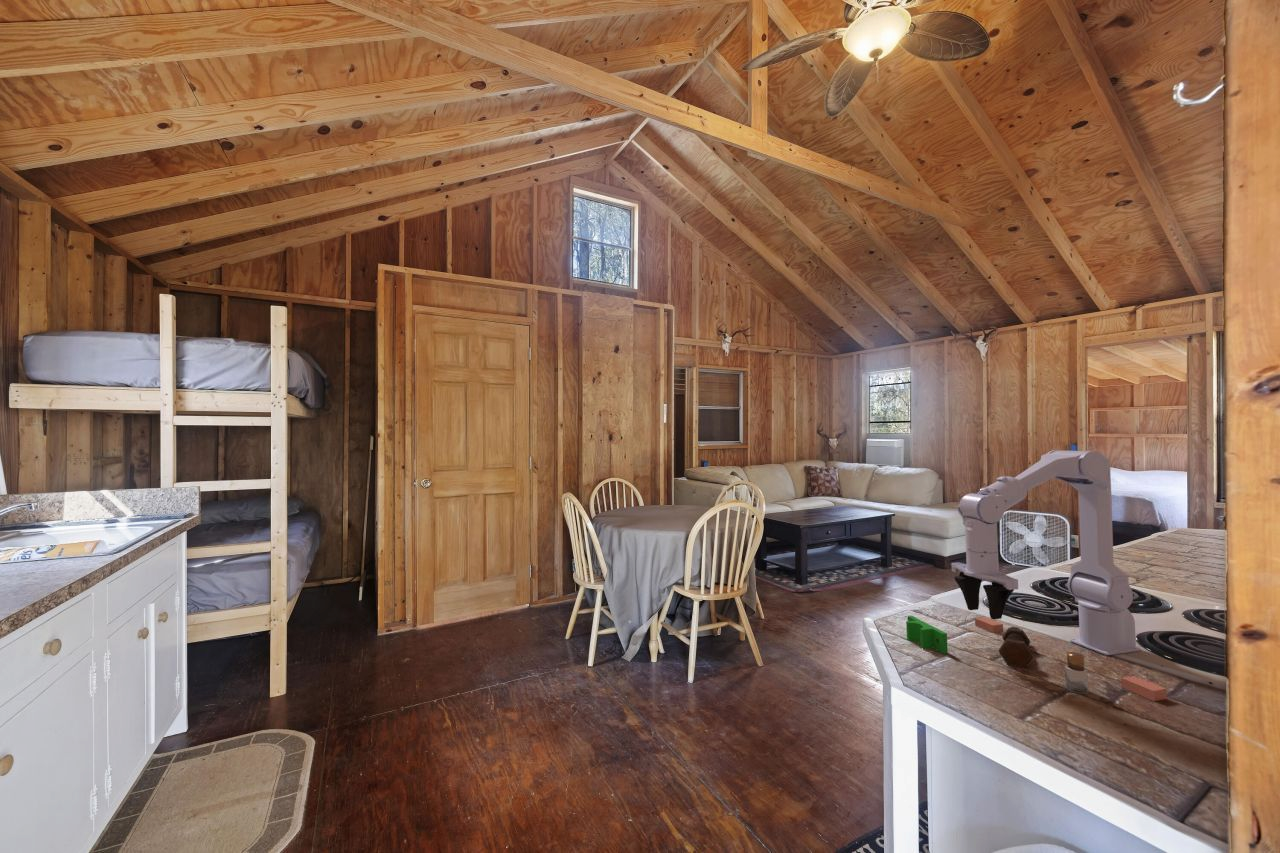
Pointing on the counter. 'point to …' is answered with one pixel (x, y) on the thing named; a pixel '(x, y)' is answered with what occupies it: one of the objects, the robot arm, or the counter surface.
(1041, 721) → the counter surface
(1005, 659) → the bolt
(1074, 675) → the two-tone metal capsule
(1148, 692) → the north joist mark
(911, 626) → the pipe clamp
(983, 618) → the block
